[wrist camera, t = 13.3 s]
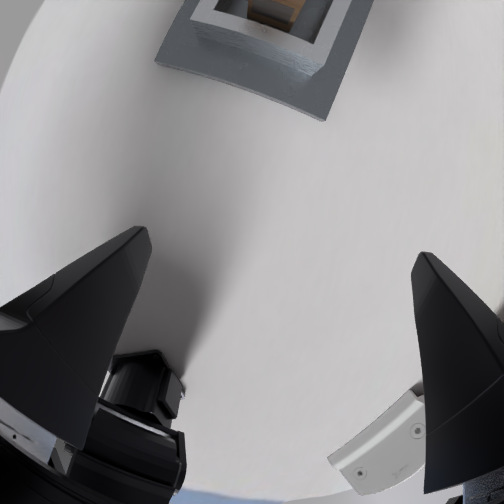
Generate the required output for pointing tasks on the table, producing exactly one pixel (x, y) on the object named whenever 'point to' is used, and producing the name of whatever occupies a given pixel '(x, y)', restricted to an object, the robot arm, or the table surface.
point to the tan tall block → (275, 12)
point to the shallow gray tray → (268, 49)
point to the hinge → (386, 448)
